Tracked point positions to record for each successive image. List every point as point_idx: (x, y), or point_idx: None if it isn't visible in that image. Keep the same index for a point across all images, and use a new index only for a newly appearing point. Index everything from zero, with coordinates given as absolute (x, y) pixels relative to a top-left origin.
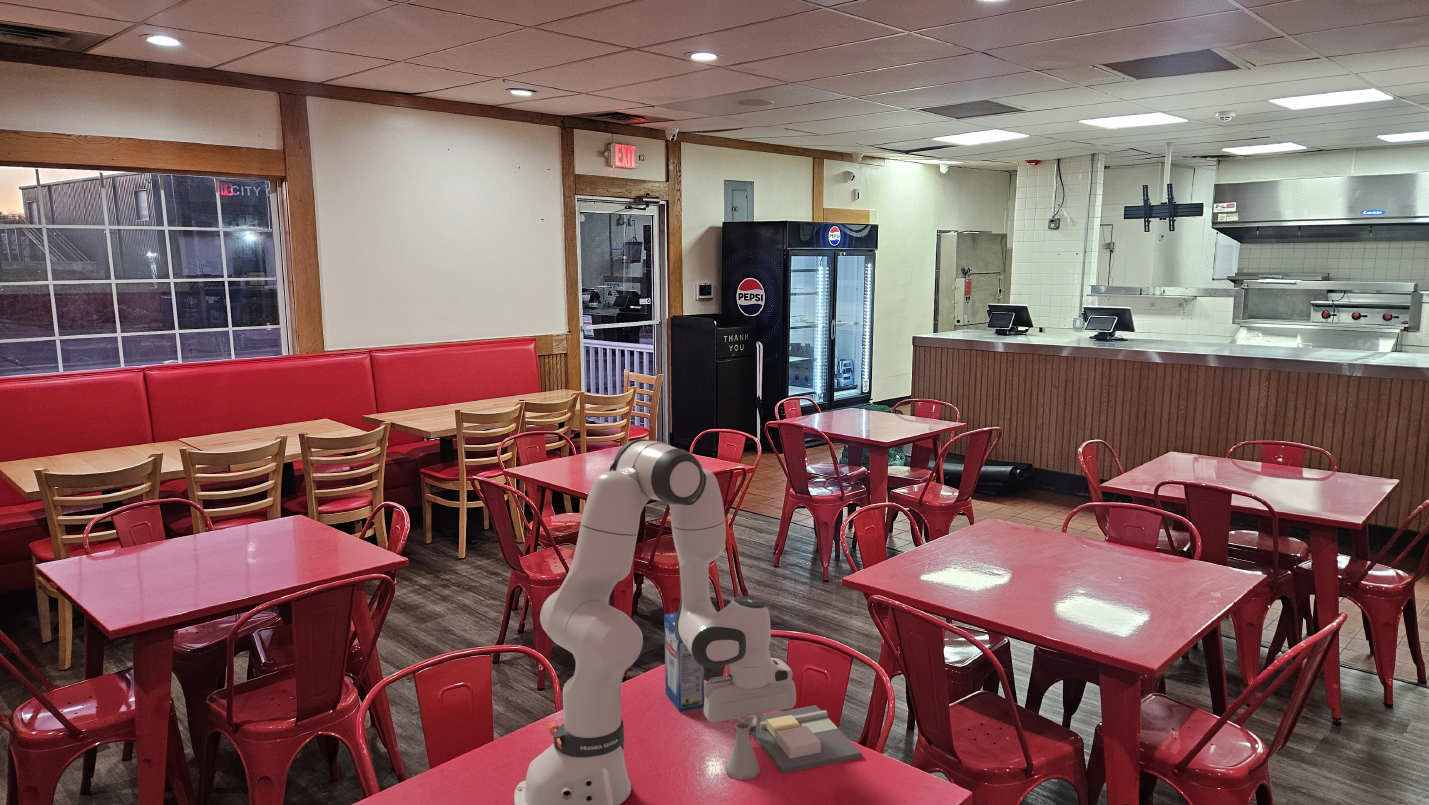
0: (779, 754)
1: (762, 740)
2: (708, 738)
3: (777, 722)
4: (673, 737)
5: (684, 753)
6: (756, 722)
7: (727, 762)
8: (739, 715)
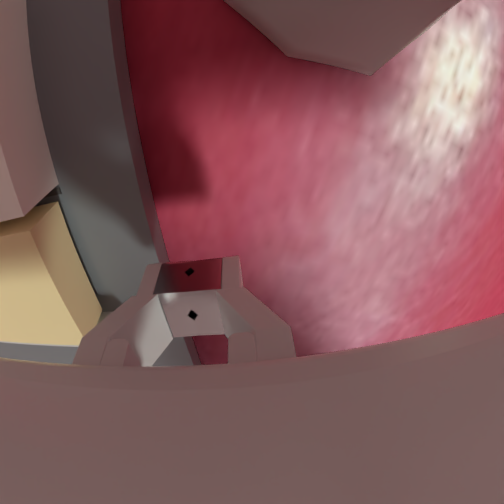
0: (64, 37)
1: (133, 214)
2: (377, 307)
3: (31, 307)
4: (463, 324)
5: (497, 228)
6: (142, 315)
7: (433, 24)
8: (341, 372)
